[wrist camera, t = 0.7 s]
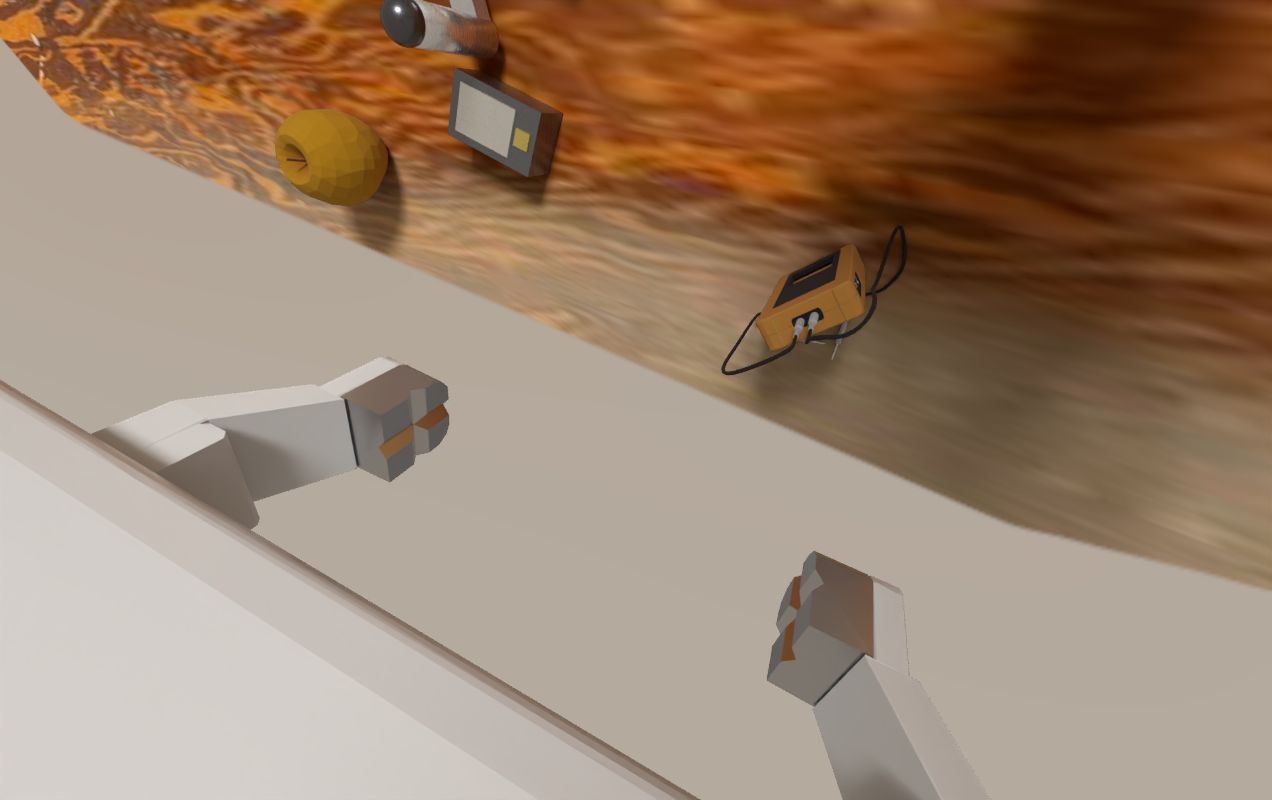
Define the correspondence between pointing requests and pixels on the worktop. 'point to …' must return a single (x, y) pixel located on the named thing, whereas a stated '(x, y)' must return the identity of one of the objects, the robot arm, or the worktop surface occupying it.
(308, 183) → the apple
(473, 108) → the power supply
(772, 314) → the multimeter
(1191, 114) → the worktop surface
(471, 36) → the grey crank handle
